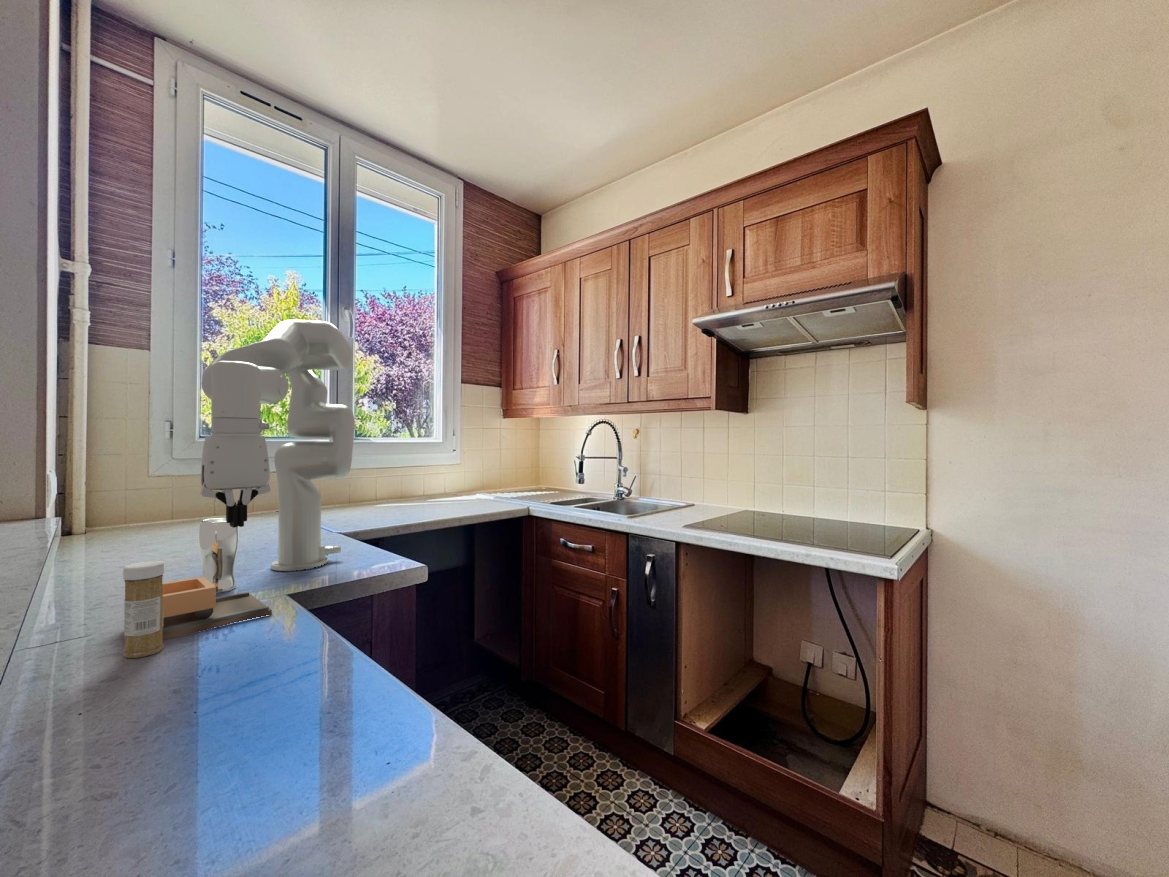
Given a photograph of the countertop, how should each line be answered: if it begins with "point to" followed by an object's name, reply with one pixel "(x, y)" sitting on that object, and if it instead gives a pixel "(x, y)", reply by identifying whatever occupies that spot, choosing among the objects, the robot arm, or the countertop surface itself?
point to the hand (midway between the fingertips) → (236, 525)
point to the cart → (189, 597)
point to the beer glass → (218, 552)
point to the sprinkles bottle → (143, 608)
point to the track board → (216, 615)
